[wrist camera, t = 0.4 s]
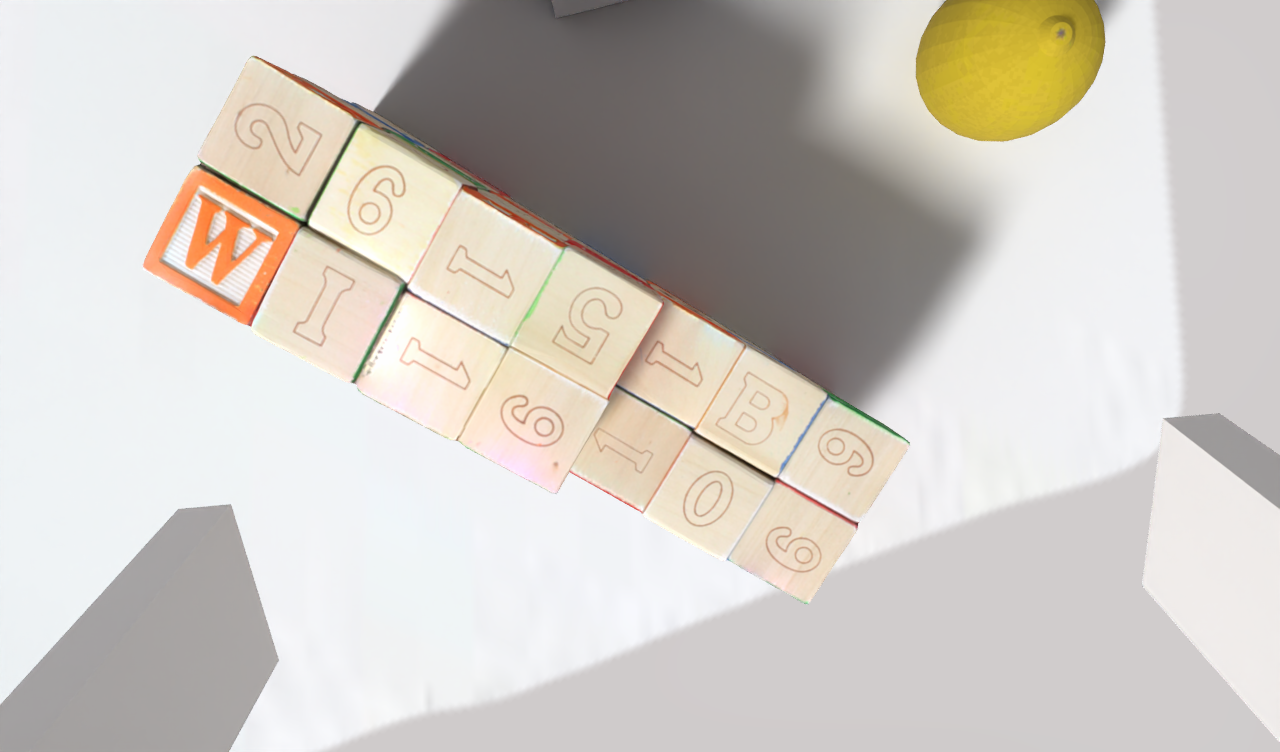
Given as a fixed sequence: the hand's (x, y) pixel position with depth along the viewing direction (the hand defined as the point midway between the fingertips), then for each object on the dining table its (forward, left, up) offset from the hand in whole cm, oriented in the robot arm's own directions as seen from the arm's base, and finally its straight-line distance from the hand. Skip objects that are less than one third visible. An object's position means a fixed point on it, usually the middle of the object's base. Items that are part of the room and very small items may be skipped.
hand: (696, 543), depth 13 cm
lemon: (-7, +15, -24) cm, 29 cm away
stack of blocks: (-1, -2, -24) cm, 24 cm away
